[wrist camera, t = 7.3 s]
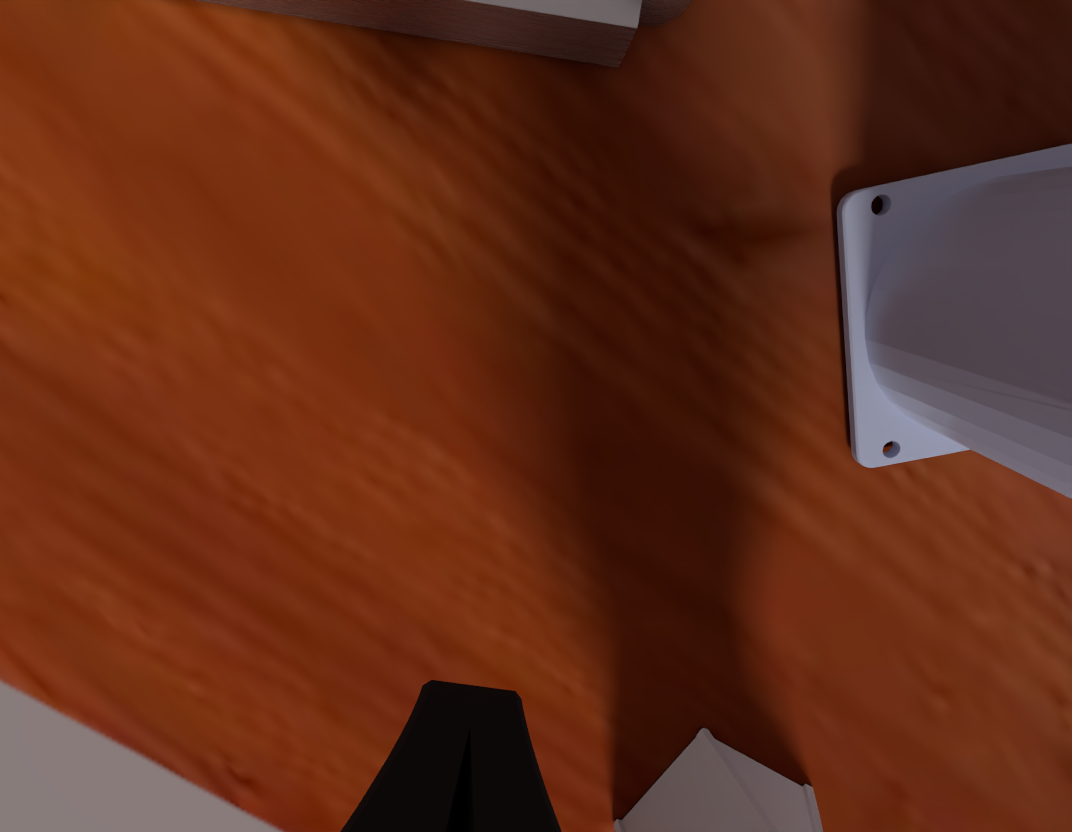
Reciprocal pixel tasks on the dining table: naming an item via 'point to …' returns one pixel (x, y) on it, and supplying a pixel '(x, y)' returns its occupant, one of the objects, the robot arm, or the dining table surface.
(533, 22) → the tong arm
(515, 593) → the dining table surface
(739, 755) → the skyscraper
